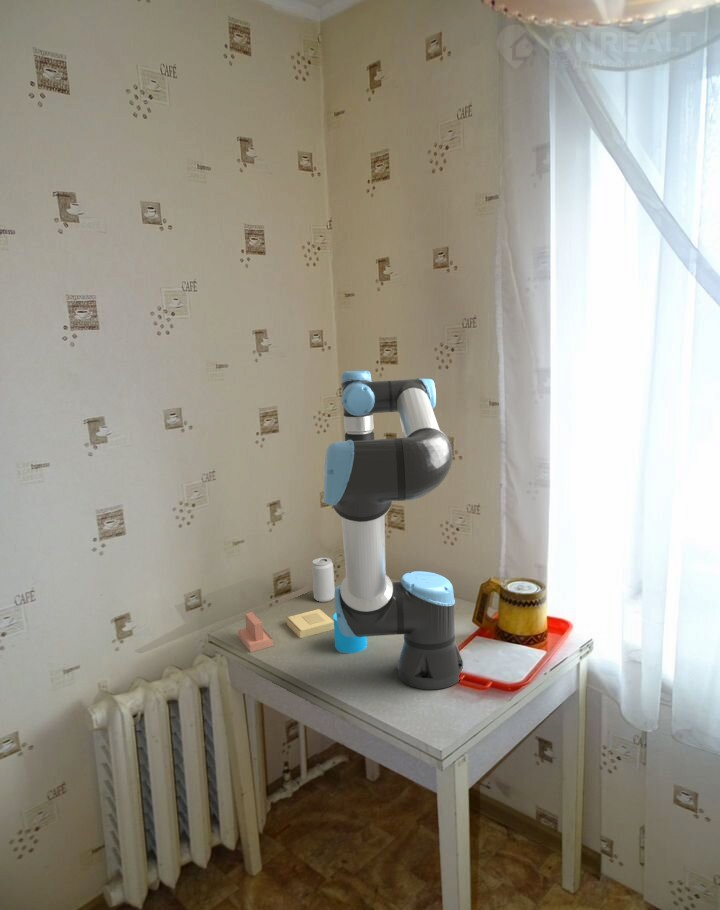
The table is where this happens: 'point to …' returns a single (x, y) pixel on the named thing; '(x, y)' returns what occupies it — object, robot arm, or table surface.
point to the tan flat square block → (310, 623)
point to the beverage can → (323, 579)
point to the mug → (347, 640)
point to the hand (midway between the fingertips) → (364, 520)
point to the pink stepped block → (254, 634)
